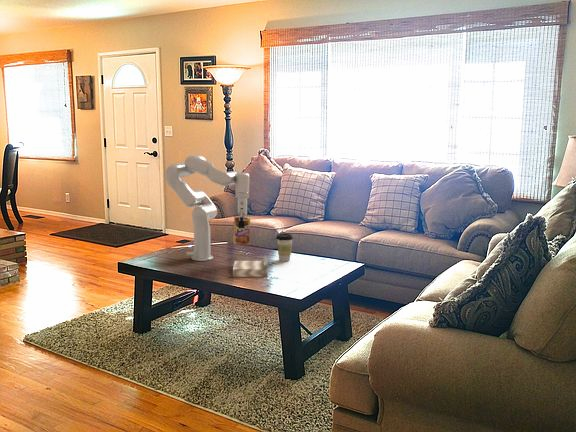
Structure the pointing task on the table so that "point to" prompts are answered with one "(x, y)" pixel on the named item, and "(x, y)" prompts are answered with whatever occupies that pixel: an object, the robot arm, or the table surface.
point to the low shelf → (250, 268)
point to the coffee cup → (284, 246)
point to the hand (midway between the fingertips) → (241, 226)
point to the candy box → (241, 231)
